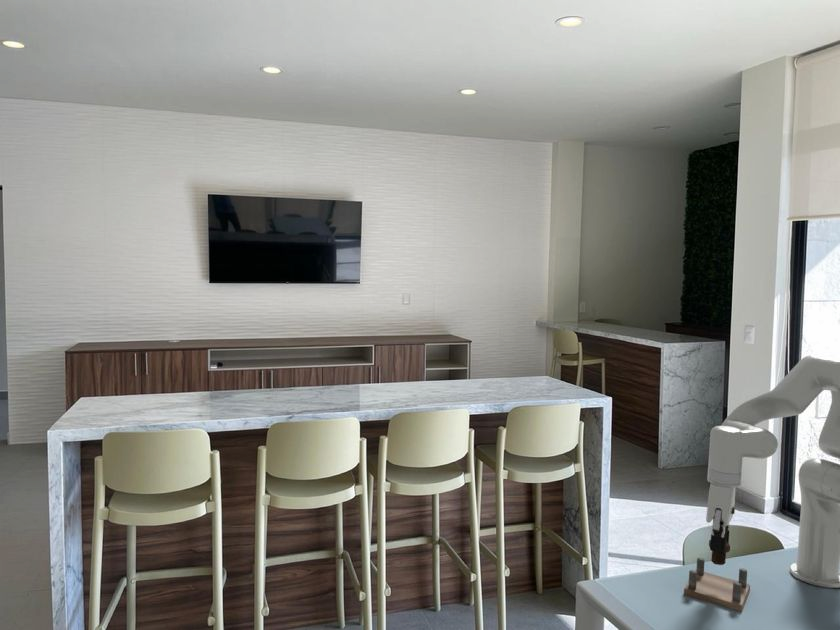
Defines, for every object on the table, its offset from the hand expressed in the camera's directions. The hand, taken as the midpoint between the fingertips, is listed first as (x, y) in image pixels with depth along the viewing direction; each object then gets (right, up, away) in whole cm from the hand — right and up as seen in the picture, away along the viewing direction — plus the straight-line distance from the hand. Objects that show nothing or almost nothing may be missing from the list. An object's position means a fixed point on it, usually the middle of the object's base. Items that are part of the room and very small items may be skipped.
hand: (719, 547), depth 159 cm
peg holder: (0, -12, +1) cm, 12 cm away
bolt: (0, -4, 0) cm, 4 cm away
